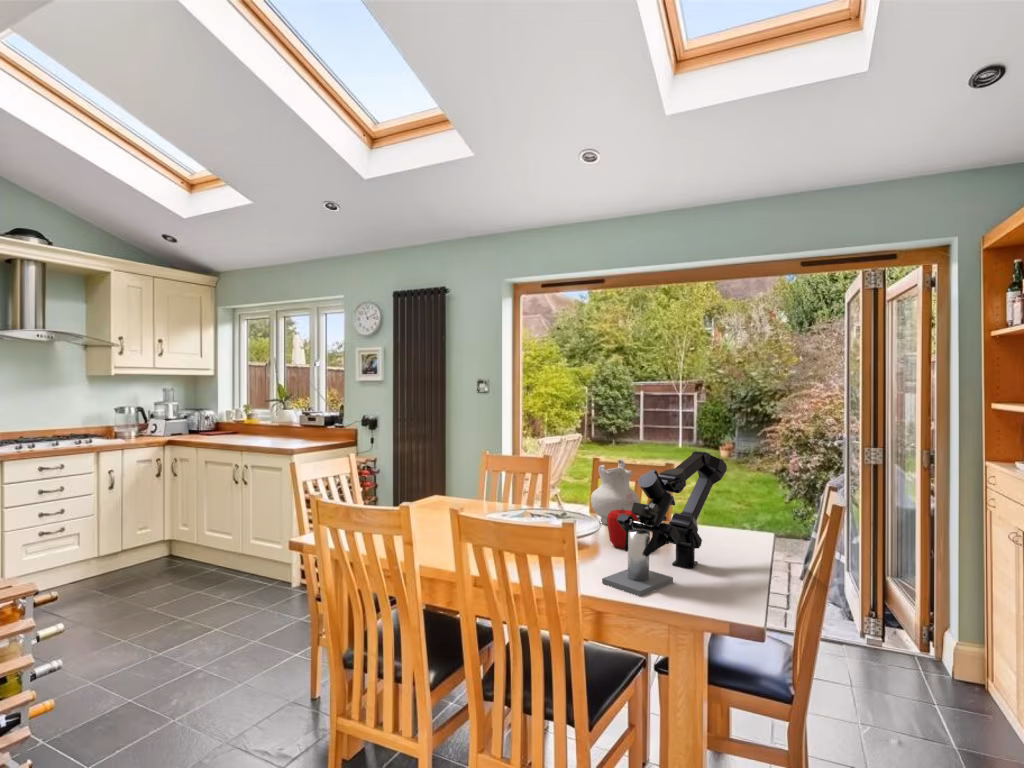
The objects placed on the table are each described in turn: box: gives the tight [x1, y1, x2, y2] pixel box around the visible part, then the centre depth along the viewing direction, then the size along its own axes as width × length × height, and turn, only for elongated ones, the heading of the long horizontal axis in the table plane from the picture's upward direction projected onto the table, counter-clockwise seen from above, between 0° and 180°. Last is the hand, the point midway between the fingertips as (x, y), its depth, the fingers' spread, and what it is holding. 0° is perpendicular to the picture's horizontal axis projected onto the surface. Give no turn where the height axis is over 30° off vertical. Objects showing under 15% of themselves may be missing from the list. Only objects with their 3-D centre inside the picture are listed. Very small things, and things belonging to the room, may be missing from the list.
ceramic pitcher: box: [590, 458, 640, 526], centre depth 234 cm, size 22×20×25 cm
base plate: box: [601, 568, 674, 597], centre depth 162 cm, size 16×13×2 cm
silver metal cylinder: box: [627, 529, 651, 581], centre depth 163 cm, size 6×6×13 cm
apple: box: [607, 508, 639, 549], centre depth 199 cm, size 10×10×14 cm
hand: (635, 552), depth 161 cm, fingers open, 7 cm apart
